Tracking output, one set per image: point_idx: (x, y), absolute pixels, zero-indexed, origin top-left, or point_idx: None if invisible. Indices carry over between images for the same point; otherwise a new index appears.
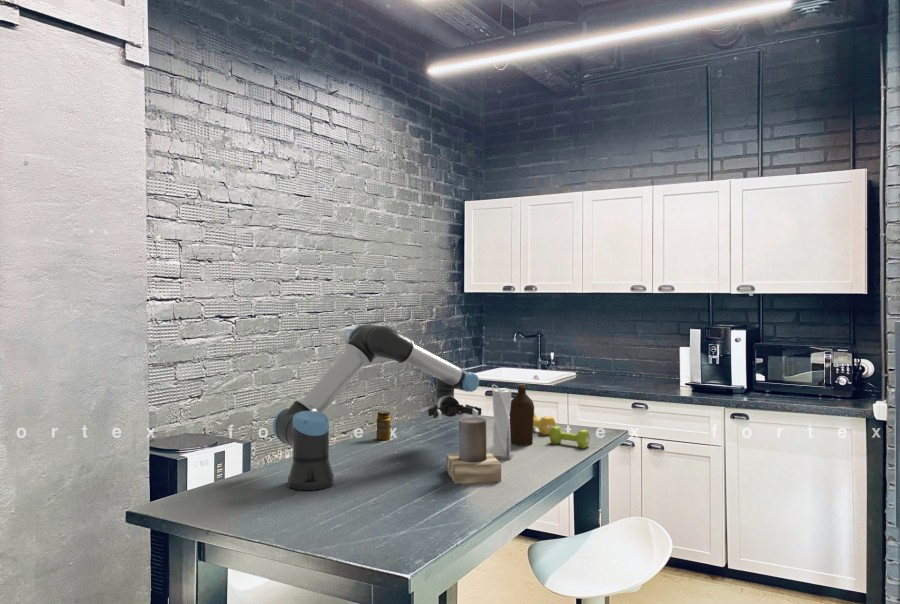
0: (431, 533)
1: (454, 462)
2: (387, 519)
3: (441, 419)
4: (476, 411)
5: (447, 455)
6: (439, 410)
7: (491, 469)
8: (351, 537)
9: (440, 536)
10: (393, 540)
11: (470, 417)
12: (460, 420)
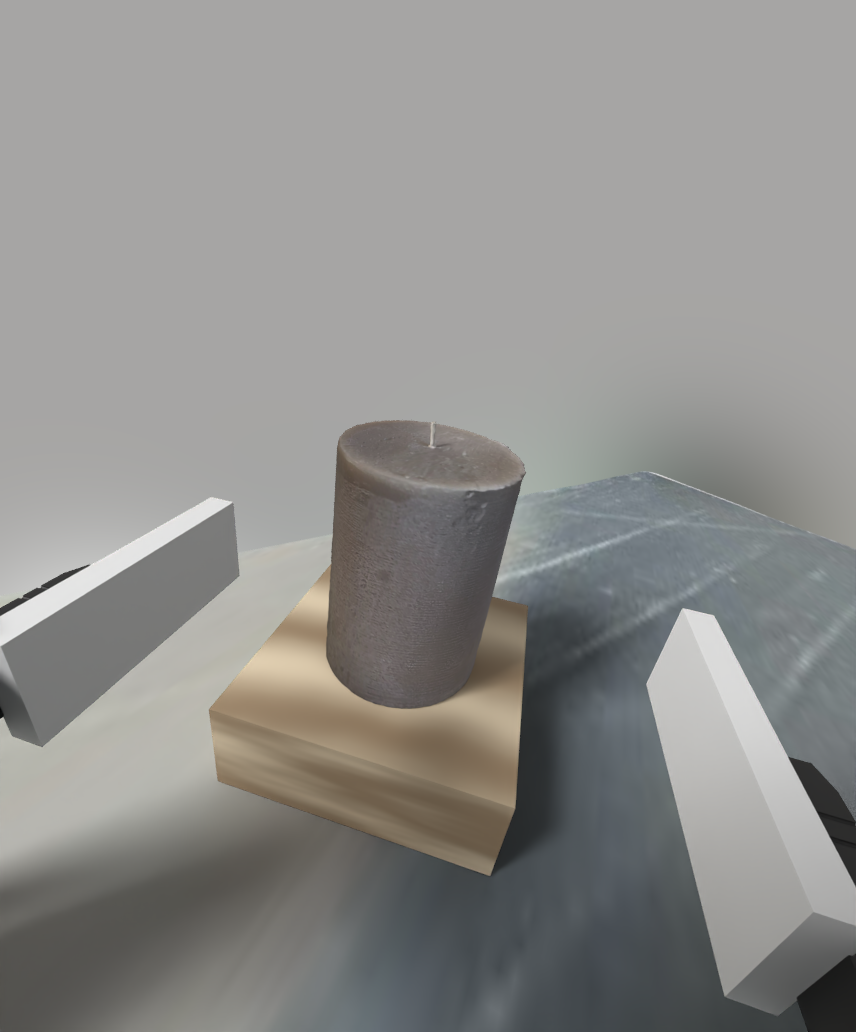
0: (617, 506)
1: (516, 639)
2: (712, 560)
3: (648, 681)
4: (214, 508)
5: (517, 768)
6: (748, 741)
7: None
8: (760, 538)
9: (603, 497)
10: (680, 512)
11: (408, 473)
12: (515, 467)
